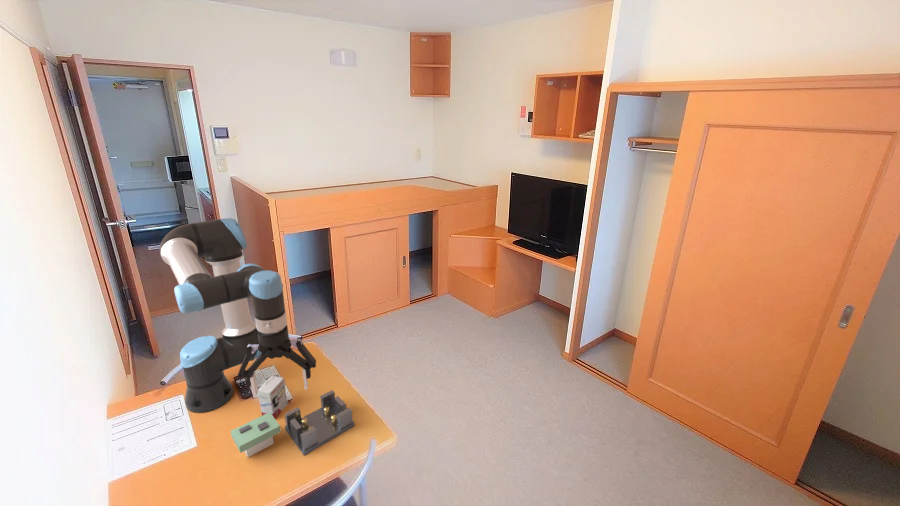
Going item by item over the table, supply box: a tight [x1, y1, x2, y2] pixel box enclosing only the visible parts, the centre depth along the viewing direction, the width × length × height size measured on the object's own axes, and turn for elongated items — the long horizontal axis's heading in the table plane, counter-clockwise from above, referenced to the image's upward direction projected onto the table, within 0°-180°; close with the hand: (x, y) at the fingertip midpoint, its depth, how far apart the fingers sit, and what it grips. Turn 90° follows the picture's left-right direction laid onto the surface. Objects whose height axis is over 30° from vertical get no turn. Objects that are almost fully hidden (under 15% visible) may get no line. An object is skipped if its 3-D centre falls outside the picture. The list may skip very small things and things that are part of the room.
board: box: [230, 412, 281, 454], centre depth 125 cm, size 8×12×3 cm, turn 134°
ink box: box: [257, 375, 288, 420], centre depth 140 cm, size 9×5×12 cm, turn 168°
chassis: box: [284, 389, 356, 457], centre depth 134 cm, size 14×18×7 cm
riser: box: [243, 436, 275, 458], centre depth 126 cm, size 4×8×5 cm, turn 134°
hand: (281, 390), depth 115 cm, fingers open, 13 cm apart
